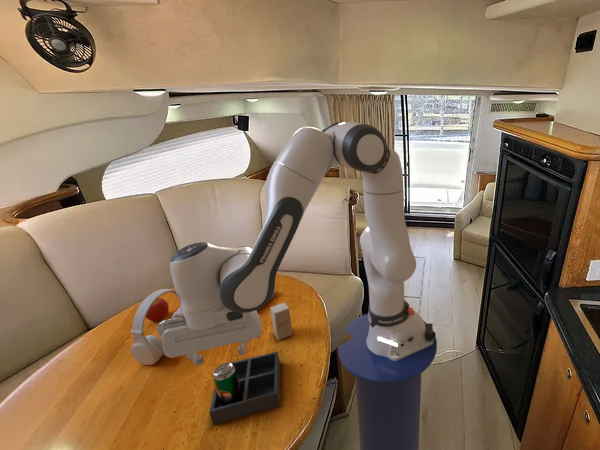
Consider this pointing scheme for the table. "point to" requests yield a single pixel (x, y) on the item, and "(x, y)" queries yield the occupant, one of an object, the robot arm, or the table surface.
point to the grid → (251, 388)
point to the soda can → (227, 384)
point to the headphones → (148, 346)
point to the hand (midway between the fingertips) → (221, 358)
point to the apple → (157, 310)
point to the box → (281, 321)
